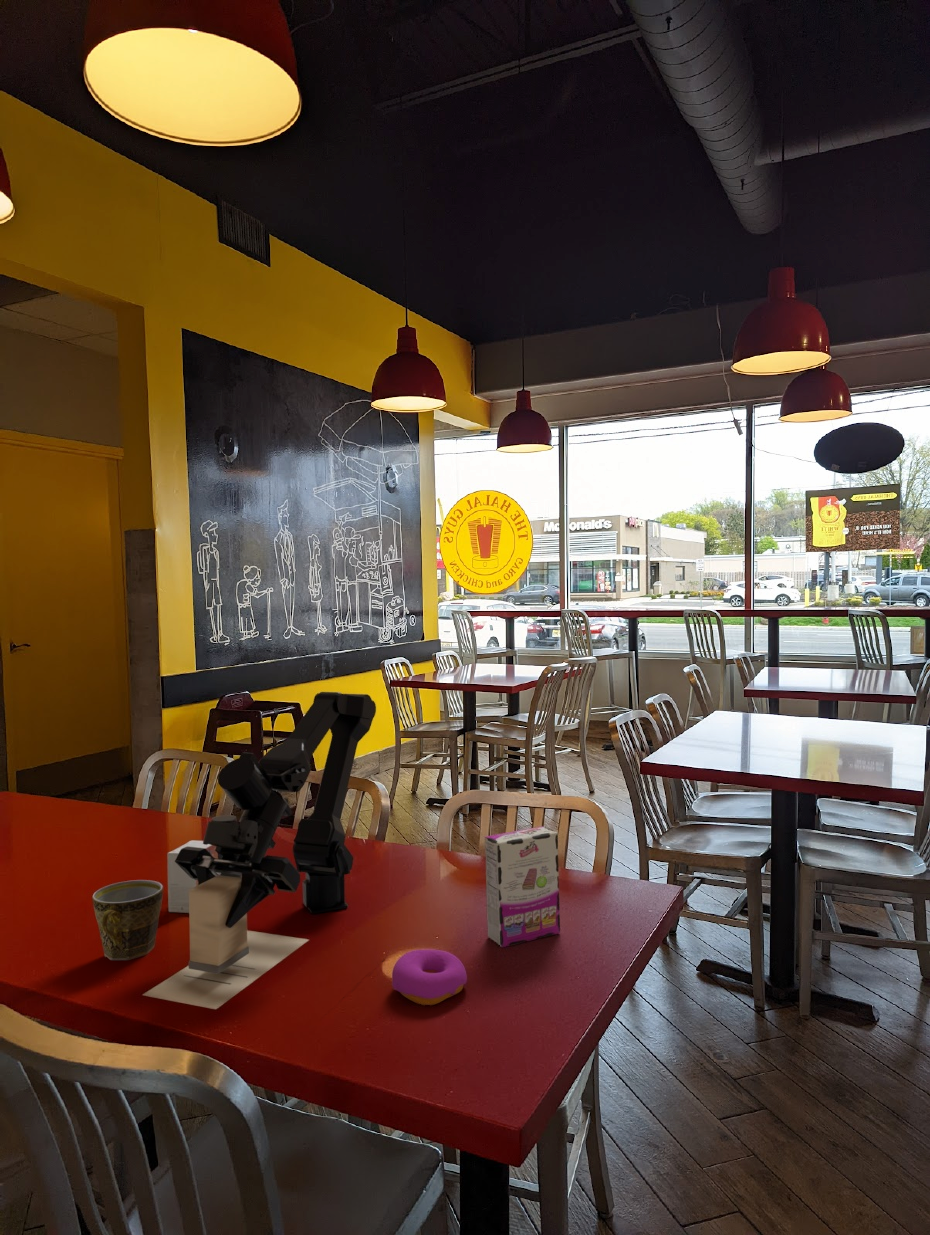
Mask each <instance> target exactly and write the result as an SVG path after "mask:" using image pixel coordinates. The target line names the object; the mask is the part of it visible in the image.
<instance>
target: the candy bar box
mask: <svg viewBox="0 0 930 1235" xmlns="http://www.w3.org/2000/svg"><path fill="white" fill-rule="evenodd" d="M558 841H559V840H558V832H556V831H554V830H552V829H550V828H547V827H546V826H538V827H533V828H532V827H531V828H526V829H520V830H515V831H510V832H509V831H508V832H504V833H498V834H497V833H496V834H493V835H492V834H491V835H487V836H484V855H485V880H486V883H485V886H486V887H485V888H486V889H485V891H486V918H487V919H486V923H487V928H486V929H487V938H488V937H489V938H491V939H492V940H493V941H492V940H491V939H490V940H491V941H492V942H494V941H495V942H496V943H495V942H494V943H495V944H496V945H497V946H499V945H500V946H499V947H500V948H506V946H507V947H510V946H509V945H511V946H515V945H518V944H523V943H527V942H531V941H534V940H539V939H542V938H547V937H550V935H551V936H553V935H554V934H555V935H558V934H560V933H561V919H560V918H561V914H560V913H561V912H560V883H559V882H560V881H559V880H560V879H559V877H560V876H559V874H560V872H559V843H558ZM489 938H488V939H489ZM538 938H539V939H538ZM526 941H527V942H526Z"/></svg>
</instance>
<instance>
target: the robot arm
mask: <svg viewBox="0 0 930 1235" xmlns="http://www.w3.org/2000/svg"><path fill="white" fill-rule="evenodd" d="M376 713H377V705H376V702H375V700H373V699H372V697H371V696H370V695H369V694H367V693H364V694H363V693H342V692H340V691H320V692H318V693H316V694H315V696H314V698H313V702H312V704H311V705H310V707H309V709H308V710H307V711H306V712H305V714H304V715H303V716H302V718H301V719H300V721H299V722H298V723H297V725H296V726H295V727H294V729H293V730H292V732H291V734H289V736H288V737H287V739H285V741H284V742H281V743H279V744H278V745H275V746H273V747H272V748H270V749H269V750H268V751H267V752H266V753H265V754H264V755H263V756H262V757H261V758H260V759H259V761H258V758H257V756H256V755H255V753H254V752H241V753H240V756H239V758H236V759H233V760H231V761H229V762H228V763H226V765H225V766H224V767H223V768H221V769H220V771H219V773H218V776H217V783H218V785H219V786H220V787H219V788H221V789H222V791H223V792H224V793H225V794H226V796H228V798H229V799H230V800H231V801H232V802H233V804H234V805H235V806H236V807H237V808H238V809H240V810H243V812H242V814H241V816H240V818H239V821H233V822H232V823H231V824H229V823H219V822H211V821H208V822H207V826H206V830H205V833H204V837H203V840H202V841H203V844H205V845H207V844H210V845H214V846H217V847H216V849H215V851H216V852H217V853H218V854H221V855H222V859H217V858H214V857H213V856H212V855H211V854H210V853H209V852H208V851H207V850H206V849H205V848H197V847H188V846H187V847H185V848H182V849H181V850H180V852H179V854H178V856H177V857H176V859H175V862H176V863H177V864H178V865H179V866H180V867H181V868H182V869H183V870H184V871H185V872H186V873H187V874H188V875H189V876H190V877H191V878H192V879H195V880H198V885H200V884H202V883H204V882H206V881H208V880H210V879H212V878H214V877H216V876H218V875H220V874H221V873H227V874H235V875H242V877H241V878H242V881H241V888H240V890H239V892H238V894H237V897H236V899H235V901H234V903H233V905H232V908H231V910H230V912H229V915H228V918H227V921H226V926H227V927H228V928H231V927H232V926H233V925H235V924H236V923H237V922H238V921H239V920H240V919H241V918H242V917H243V916H244V915H245V914H246V913H249V912H250V911H251V910H252V909H254V907H255V906H257V905H258V904H259V903H261V902H262V901H263V900H265V899H266V898H267V897H268V896H274V895H275V894H276V890H275V886H276V888H277V890H278V891H280V892H288V893H296V892H297V891H298V888H299V885H300V883H301V873H305V879H303V880H302V903H303V905H304V906H305V907H306V908H307V910H309V912H310V913H311V914H313V915H314V914H320V913H324V912H325V913H326V912H330V911H336V910H342V909H347V908H349V904H348V903H347V901H346V897H345V896H346V895H345V894H346V893H345V892H346V890H345V884H346V883H345V880H346V879H345V876H346V875H350V873H351V870H352V869H353V865H354V855H353V854H352V852H350V850H349V849H348V848H347V846H346V845H345V843H346V832H345V829H344V826H343V823H342V821H341V817H342V813H343V808H344V804H345V799H346V794H347V791H348V786H349V782H350V778H351V774H352V769H353V764H354V761H355V757H356V752H357V748H358V743H359V742H360V741H361V740H362V739H363V738H364V737H365V736H366V735H367V734H368V733H369V732H370V729H371V727H372V724H373V721H374V718H375V716H376ZM329 731H330V733H331V739H330V743H329V748H328V750H327V755H326V759H325V763H324V764H325V765H324V767H323V772H322V775H321V780H320V783H319V787H318V788H319V789H318V793H317V796H316V798H315V799H316V800H315V803H314V807H313V812H311V814H310V815H309V816H308V817H307V818H301V819H300V820H299V821H298V824H297V830H296V831H297V832H296V834H295V838H294V839H293V845H292V853H293V859H294V863H295V866H294V864H293V863H292V862H291V861H290V859H289V858H288V857H286V856H278V855H277V856H276V855H270V854H269V855H266V854H267V851H268V849H269V850H270V849H271V850H274V848H275V846H276V844H277V843H276V841H275V840H274V839H273V838H274V835H275V834H276V831H277V829H278V827H279V824H280V823H281V819H282V817H283V816H284V817H290V816H291V815H292V808H291V806H290V802H289V798H284V797H283V795H282V794H281V793H280V792H285V793H286V792H287V793H298V792H300V791H301V790H302V788H303V787H304V785H305V783H306V782H307V779H308V777H309V775H310V773H311V771H312V770H311V769H312V768H311V758H312V757H313V755H314V754H315V751H316V750H317V748H318V747H319V745H320V744H321V743H322V742H323V739H324V738H325V737H326V735H327V734H328V732H329Z"/></svg>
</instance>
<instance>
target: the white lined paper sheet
mask: <svg viewBox="0 0 930 1235" xmlns="http://www.w3.org/2000/svg"><path fill="white" fill-rule="evenodd" d="M309 941H310V939H309V938H308V939H307V938H301V937H293V936H288V935H287V936H286V935H281V934H274V933H269V932H268V933H267V932H259V931H254V930H248V929H247V946H249V953H248V954H247V955H246V956H244V957H243V958H241V959H240V960H238V961H237V962H235V963H234V964H232V965H231V966H229V967H228V968H226V969H225V970H223V971H222V972H220V973H219V974H217V973H211V972H205V971H200V970H194V969H189V965H187V966H186V967H184V968H183V969H181V970H179V971H178V972H176V973H174V974H173V975H171V976H170V977H168V978H167V979H165V980H163V981H162V982H160V983H159V984H157V985H156V986H154V987H152V988H151V989H149V990H148V991H146V992H144V993H143V994H142V996H144V997H145V996H146V997H150V998H153V999H154V998H155V999H160V1000H166V1001H170V1002H175V1003H182V1004H187V1005H191V1006H196V1007H202V1008H207V1009H211V1010H217V1009H219V1008H220V1007H222V1006H223V1005H224V1004H225V1003H227V1002H228V1001H230V1000H231V999H233V997H234V996H237V994H239V993H240V992H241V991H243V990H244V989H246V988H247V987H248V986H250V985H251V984H252V983H254V982H255V981H256V980H258V979H259V978H260V977H262V976H263V975H264V974H266V973H267V972H268V971H269V970H271V969H273V968H274V967H275V966H277V964H279V963H281V962H282V961H284V959H286V958H287V957H288V956H290V955H291V954H292V953H294V952H296V951H297V950H298V949H299V948H301V947H302V946H303V945H304V944H306V943H307V942H309Z"/></svg>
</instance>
